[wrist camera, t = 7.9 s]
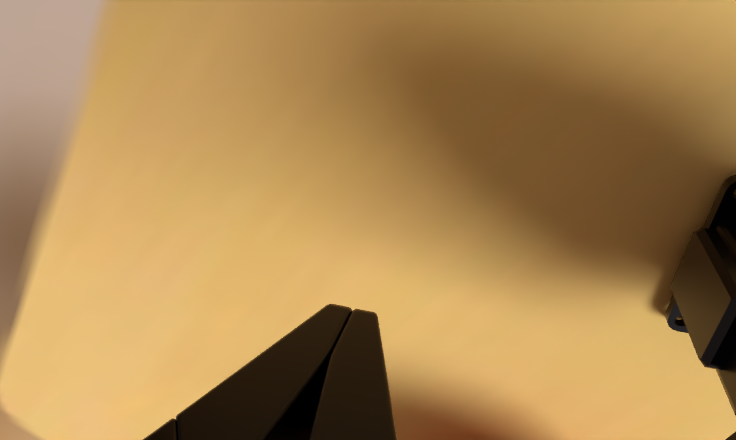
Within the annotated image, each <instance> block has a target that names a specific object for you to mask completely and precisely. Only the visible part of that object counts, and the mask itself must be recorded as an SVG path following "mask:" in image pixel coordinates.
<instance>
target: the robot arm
mask: <svg viewBox="0 0 736 440" xmlns="http://www.w3.org/2000/svg"><path fill="white" fill-rule="evenodd" d="M735 190H736V175H734V176H731V177H730V178H728V179H727V180H726V181H725V182H724V183H723V185H722V187H721V189H720V191H719V193H718V196H717V198H716V200H715V202H714V205H713V207H712V209H711V211H710V214H709V216H708V218H707V220H706V223H705V225H704V227H702V228H700V229H699V230H697V231H696V232H694V234H693V236H692V238H691V241H690V243H689V245H688V248H687V250H686V252H685V254H684V257H683V259H682V261H681V264H680V266H679V268H678V270H677V273H676V275H675V277H674V280H673V282H672V284H671V290H672V292H673V297H672V299H671V301H670V303H669V306H668V308H667V310H666V313H665V317H666V320H667V323H668V325H669V327H670V328H672V329H673V330H676V331H680V332H685V333H689V335H690V338H691V340H692V343H693V345H694V348H695V350H696V353H697V355H698V358H699V359H700V361H701V362H702V364H703V365H704V366H705V367H707V368H712V369H716V371H717V373H718V375H719V378H720V380H721V382H722V385H723V387H724V390H725V392H726V394H727V397H728V399H729V401H730V404H731V406H732V408H733V411H734V413H735V415H736V195H735V194H734V191H735ZM679 316H682V318H683V319H681V320H677V319H676V318H677V317H679ZM143 440H397V435H396V429H395V422H394V416H393V410H392V404H391V397H390V391H389V385H388V379H387V372H386V366H385V360H384V354H383V348H382V341H381V335H380V329H379V323H378V317H377V314H376V313H374V312H370V311H365V310H360V309H355V310H353V311H352V309H351V308H349V307H345V306H340V305H335V304H329V305H327V306H325V307H324V308H322V309H321V310H320V311H318V312H317V313H316V314H314V315H313V316H312V317H310V318H309V319H307V320H306V321H305V322H303V323H302V324H301V325H299V326H298V327H297V328H295V329H294V330H292V331H291V332H290V333H288V334H287V335H286V336H284V337H283V338H282V339H280V340H279V341H277V342H276V343H275V344H273V345H272V346H271V347H269V348H268V349H267V350H265V351H264V352H262V353H261V354H260V355H258V356H257V357H256V358H254V359H253V360H252V361H250V362H249V363H247V364H246V365H245V366H243V367H242V368H241V369H239V370H238V371H237V372H235V373H234V374H232V375H231V376H230V377H228V378H227V379H226V380H224V381H223V382H222V383H220V384H219V385H217V386H216V387H215V388H213V389H212V390H211V391H209V392H208V393H207V394H205V395H204V396H202V397H201V398H200V399H198V400H197V401H196V402H194V403H193V404H192V405H190V406H189V407H187V408H186V409H185V410H183V411H182V412H181V413H179V414H178V415H177V416H176V420H175V419H171V420H169V421H168V422H167V423H165V424H164V425H163V426H161V427H160V428H159V429H157V430H156V431H154V432H153V433H152V434H150V435H149V436H147V437H146V438H144V439H143ZM726 440H736V432H735V433H733V434H732V435H731V436H730V437H728V438H727V439H726Z"/></svg>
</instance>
